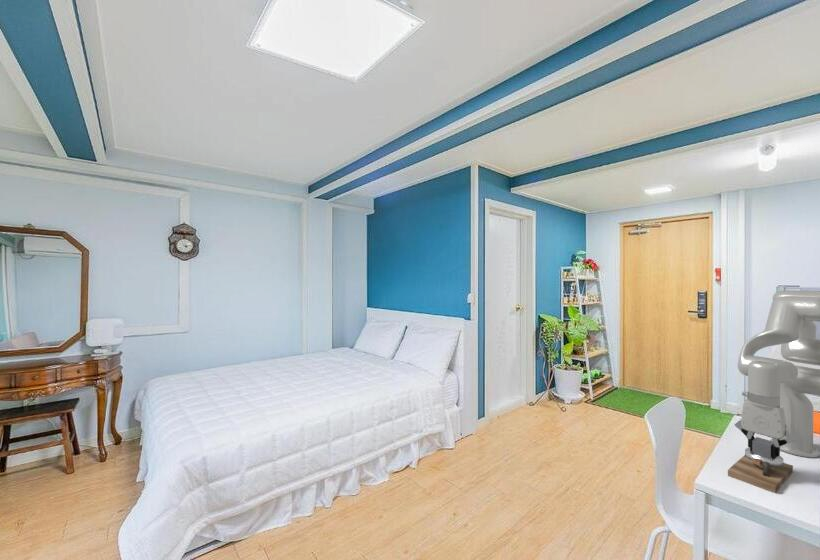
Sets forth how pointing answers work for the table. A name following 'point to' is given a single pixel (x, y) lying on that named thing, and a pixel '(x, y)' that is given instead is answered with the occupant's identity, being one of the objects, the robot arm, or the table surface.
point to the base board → (760, 474)
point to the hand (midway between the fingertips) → (763, 453)
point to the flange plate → (763, 453)
